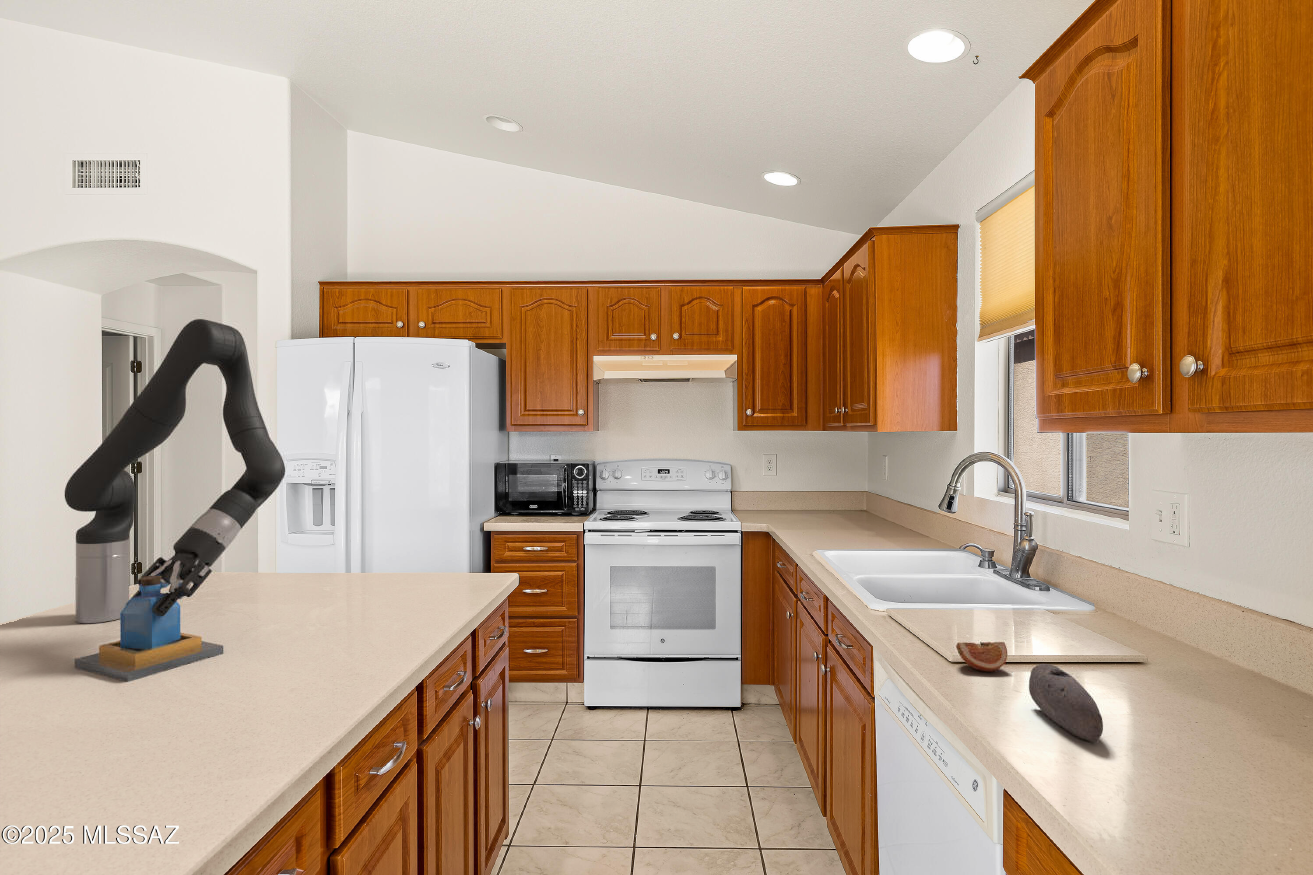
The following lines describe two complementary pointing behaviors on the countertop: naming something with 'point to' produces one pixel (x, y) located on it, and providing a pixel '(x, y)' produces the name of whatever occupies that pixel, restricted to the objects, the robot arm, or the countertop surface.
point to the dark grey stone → (1065, 702)
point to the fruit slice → (983, 655)
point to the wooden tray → (146, 658)
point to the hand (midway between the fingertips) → (143, 611)
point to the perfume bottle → (148, 618)
